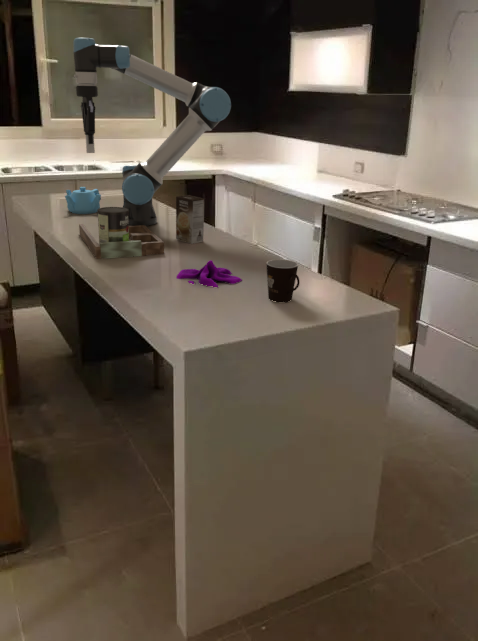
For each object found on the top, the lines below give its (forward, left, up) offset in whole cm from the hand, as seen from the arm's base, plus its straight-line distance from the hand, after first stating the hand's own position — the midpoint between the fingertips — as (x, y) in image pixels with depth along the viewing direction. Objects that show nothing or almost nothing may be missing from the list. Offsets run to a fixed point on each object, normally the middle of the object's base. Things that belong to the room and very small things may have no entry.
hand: (90, 152), depth 230 cm
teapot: (-2, -37, -29) cm, 48 cm away
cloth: (-21, +74, -30) cm, 82 cm away
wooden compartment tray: (-5, +25, -29) cm, 39 cm away
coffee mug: (-34, +98, -29) cm, 107 cm away
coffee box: (-31, +26, -29) cm, 50 cm away
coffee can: (-1, +33, -29) cm, 44 cm away
